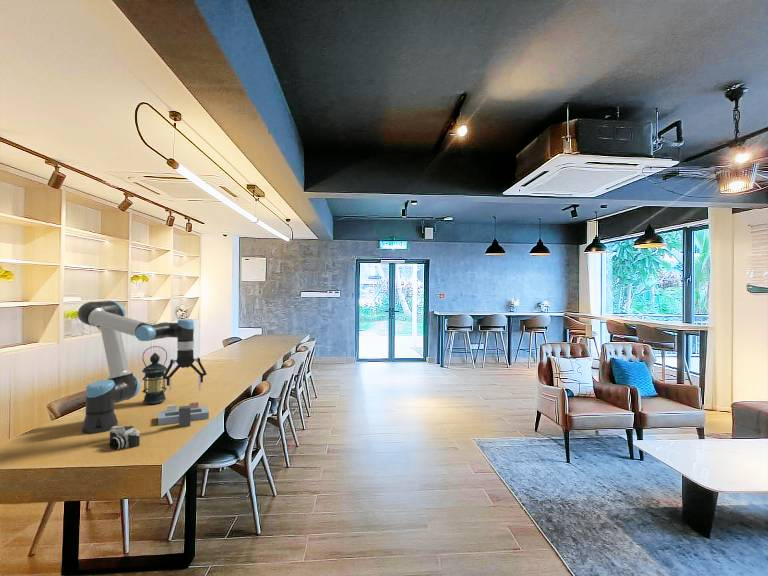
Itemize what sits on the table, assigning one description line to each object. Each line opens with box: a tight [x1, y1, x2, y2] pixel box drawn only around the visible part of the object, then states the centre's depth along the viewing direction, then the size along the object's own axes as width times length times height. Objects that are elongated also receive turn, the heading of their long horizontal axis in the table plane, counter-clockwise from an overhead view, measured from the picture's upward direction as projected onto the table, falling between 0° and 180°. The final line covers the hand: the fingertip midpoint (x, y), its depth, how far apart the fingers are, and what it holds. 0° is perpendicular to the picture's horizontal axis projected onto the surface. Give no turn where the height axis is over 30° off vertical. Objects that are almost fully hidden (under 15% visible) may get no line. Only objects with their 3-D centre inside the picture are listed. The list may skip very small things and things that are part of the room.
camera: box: [109, 425, 141, 451], centre depth 180 cm, size 16×9×10 cm, turn 73°
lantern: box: [141, 345, 168, 405], centre depth 250 cm, size 14×13×35 cm
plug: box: [178, 404, 191, 428], centre depth 208 cm, size 5×5×10 cm
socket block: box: [157, 401, 210, 426], centre depth 220 cm, size 24×14×7 cm, turn 119°
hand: (185, 390), depth 208 cm, fingers open, 13 cm apart
